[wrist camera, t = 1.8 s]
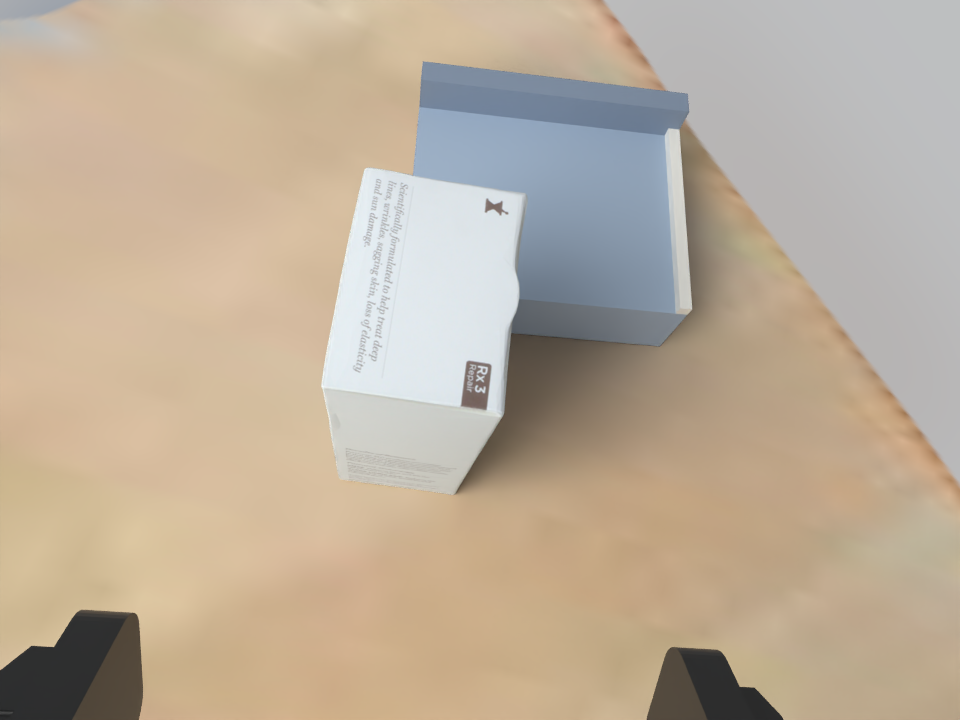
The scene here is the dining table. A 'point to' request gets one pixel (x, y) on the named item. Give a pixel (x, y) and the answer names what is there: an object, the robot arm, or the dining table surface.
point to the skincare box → (422, 329)
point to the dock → (572, 193)
